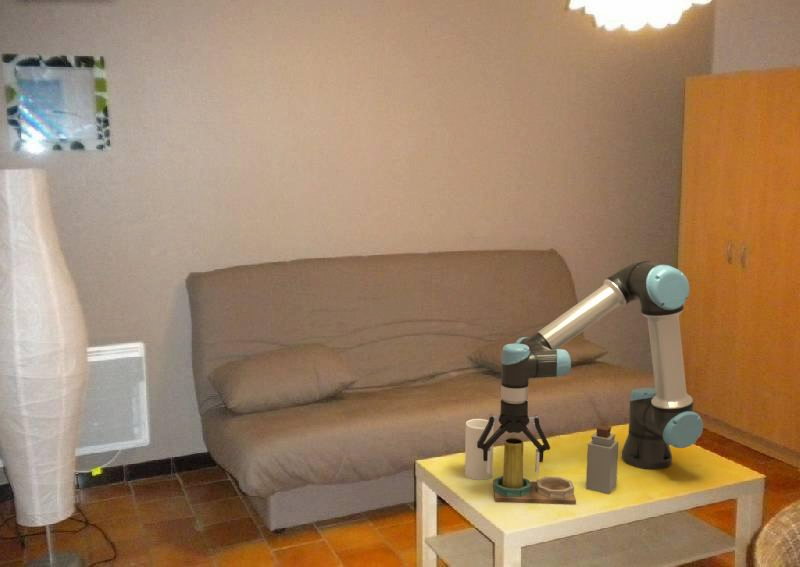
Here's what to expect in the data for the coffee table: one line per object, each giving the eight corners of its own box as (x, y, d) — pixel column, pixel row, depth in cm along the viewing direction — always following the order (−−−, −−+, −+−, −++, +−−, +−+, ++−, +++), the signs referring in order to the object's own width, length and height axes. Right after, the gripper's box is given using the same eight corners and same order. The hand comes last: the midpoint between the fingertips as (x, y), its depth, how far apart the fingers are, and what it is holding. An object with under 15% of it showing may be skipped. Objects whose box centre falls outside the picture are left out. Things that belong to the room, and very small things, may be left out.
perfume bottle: (609, 494, 222) (611, 433, 220) (585, 489, 226) (588, 428, 223) (616, 485, 228) (619, 426, 225) (593, 480, 232) (596, 422, 229)
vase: (523, 494, 219) (524, 445, 217) (501, 492, 220) (502, 443, 218) (524, 485, 225) (525, 438, 223) (502, 484, 226) (503, 436, 224)
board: (569, 486, 228) (570, 475, 227) (575, 504, 216) (576, 493, 215) (493, 484, 229) (493, 473, 229) (495, 501, 217) (495, 491, 217)
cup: (496, 471, 238) (497, 421, 236) (487, 481, 231) (488, 429, 228) (470, 467, 242) (471, 417, 239) (461, 477, 234) (461, 425, 232)
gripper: (558, 396, 221) (555, 468, 225) (469, 394, 223) (468, 465, 226) (561, 404, 214) (559, 478, 217) (469, 402, 216) (468, 476, 219)
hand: (512, 472), depth 222 cm, fingers open, 13 cm apart
